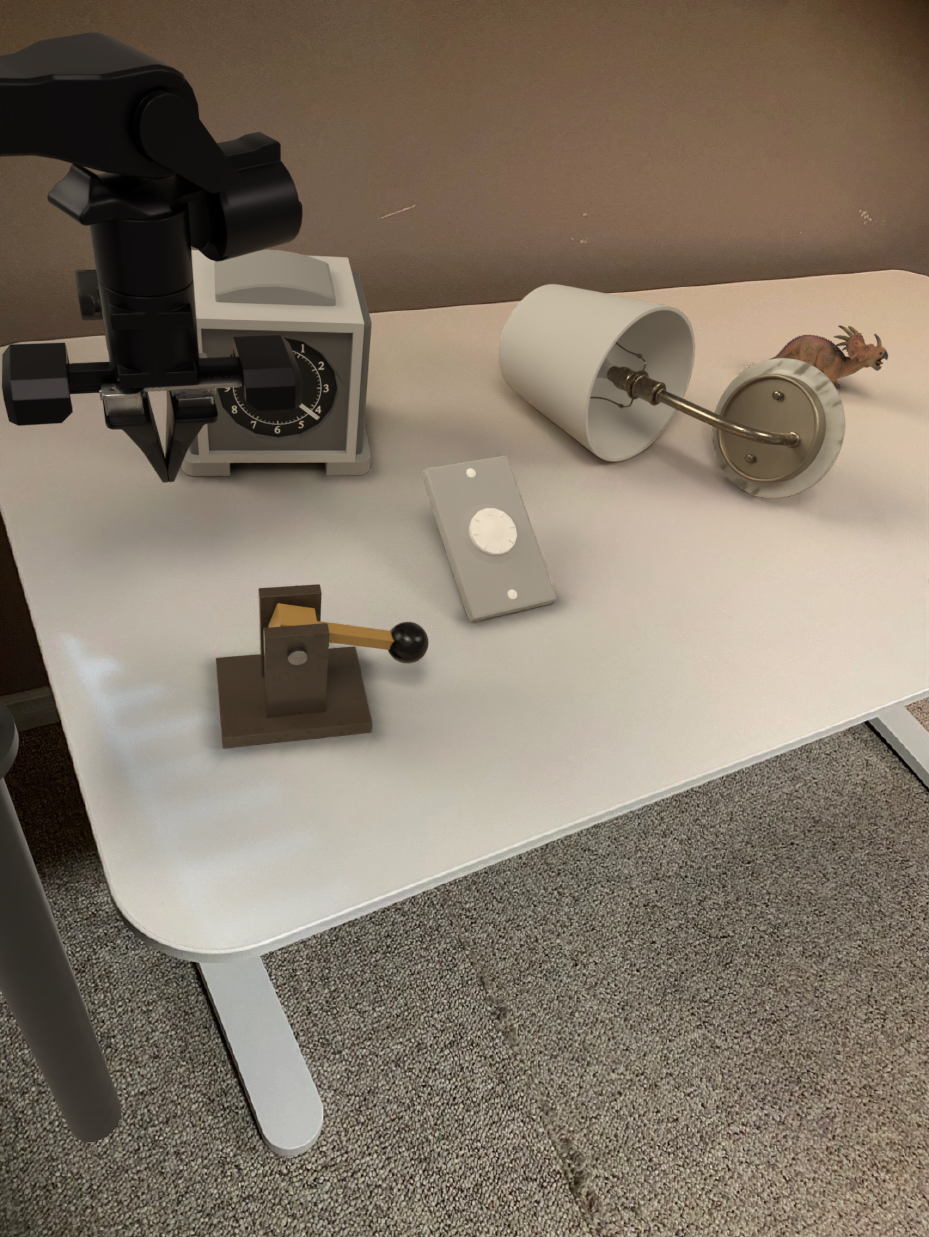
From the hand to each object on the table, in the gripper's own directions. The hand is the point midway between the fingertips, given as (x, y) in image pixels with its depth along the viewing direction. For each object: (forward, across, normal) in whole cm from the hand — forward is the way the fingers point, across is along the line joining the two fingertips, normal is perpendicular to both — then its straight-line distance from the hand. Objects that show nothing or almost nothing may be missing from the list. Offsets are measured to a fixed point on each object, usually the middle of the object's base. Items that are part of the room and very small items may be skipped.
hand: (167, 479), depth 69 cm
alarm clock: (+13, -12, -23) cm, 29 cm away
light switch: (+13, -27, 0) cm, 30 cm away
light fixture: (+13, -51, -15) cm, 55 cm away
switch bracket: (+13, -7, +12) cm, 19 cm away
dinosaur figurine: (+13, -81, -26) cm, 86 cm away
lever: (+8, -11, +12) cm, 18 cm away
